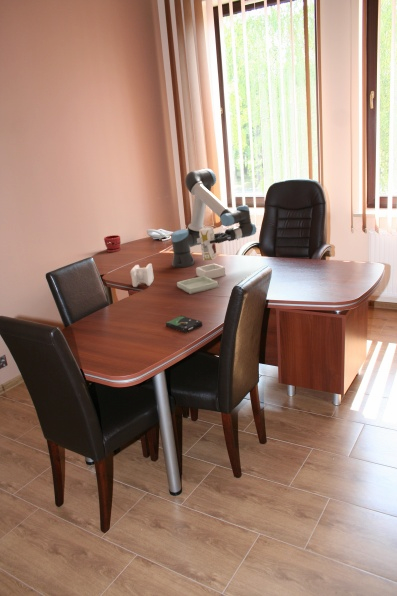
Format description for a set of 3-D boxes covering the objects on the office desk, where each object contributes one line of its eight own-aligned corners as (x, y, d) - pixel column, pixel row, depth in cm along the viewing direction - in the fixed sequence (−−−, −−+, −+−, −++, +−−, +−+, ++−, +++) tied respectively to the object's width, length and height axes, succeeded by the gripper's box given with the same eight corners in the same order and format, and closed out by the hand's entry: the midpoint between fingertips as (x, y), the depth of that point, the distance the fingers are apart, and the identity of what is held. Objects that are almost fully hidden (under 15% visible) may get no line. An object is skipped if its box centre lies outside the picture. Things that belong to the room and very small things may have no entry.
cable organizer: (149, 287, 295) (146, 269, 292) (132, 288, 297) (129, 270, 293) (154, 280, 309) (151, 262, 306) (138, 281, 311) (135, 263, 307)
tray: (177, 286, 290) (176, 282, 289) (204, 280, 297) (204, 275, 296) (190, 294, 275) (189, 289, 274) (218, 287, 281) (217, 282, 281)
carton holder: (196, 275, 310) (195, 267, 308) (215, 270, 315) (214, 263, 313) (206, 279, 298) (205, 271, 296) (225, 275, 303) (224, 267, 301)
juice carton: (201, 260, 298) (197, 230, 291) (206, 256, 305) (202, 226, 299) (213, 260, 295) (209, 229, 289) (217, 256, 303) (214, 226, 296)
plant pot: (104, 253, 401) (101, 239, 397) (109, 249, 413) (106, 235, 409) (119, 252, 398) (116, 237, 395) (124, 248, 411) (121, 234, 407)
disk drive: (202, 326, 228) (181, 320, 239) (202, 321, 227) (181, 314, 238) (186, 334, 222) (165, 327, 232) (186, 328, 221) (164, 321, 231)
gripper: (242, 242, 295) (210, 251, 286) (225, 237, 314) (193, 245, 305) (241, 230, 293) (208, 238, 284) (223, 225, 311) (192, 233, 303)
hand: (200, 242), depth 295 cm, fingers closed on juice carton, 9 cm apart
